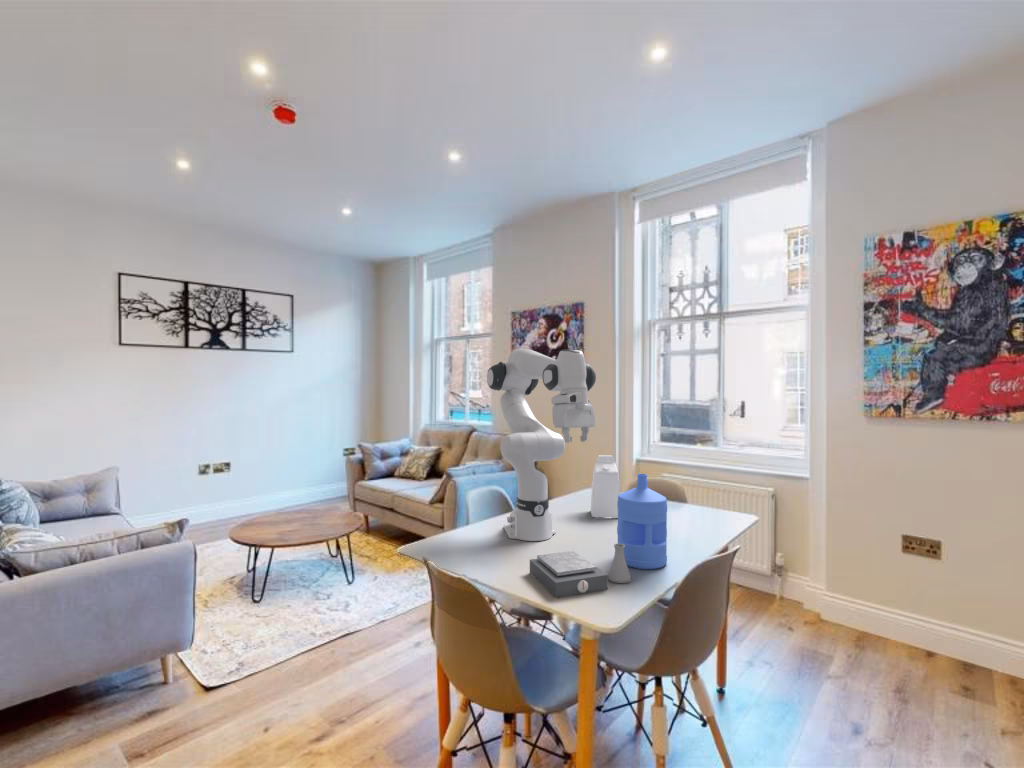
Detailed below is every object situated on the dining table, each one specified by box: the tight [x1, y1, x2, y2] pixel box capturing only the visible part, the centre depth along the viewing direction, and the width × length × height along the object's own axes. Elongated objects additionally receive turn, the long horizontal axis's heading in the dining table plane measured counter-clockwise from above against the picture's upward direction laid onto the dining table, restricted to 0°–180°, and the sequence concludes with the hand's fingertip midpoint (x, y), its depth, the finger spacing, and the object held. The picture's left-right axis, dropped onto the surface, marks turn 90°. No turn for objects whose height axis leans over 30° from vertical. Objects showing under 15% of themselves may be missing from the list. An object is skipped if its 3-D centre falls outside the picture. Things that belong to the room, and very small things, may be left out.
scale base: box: [529, 554, 609, 598], centre depth 140 cm, size 19×16×4 cm
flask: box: [607, 543, 632, 584], centre depth 142 cm, size 7×7×10 cm
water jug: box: [616, 473, 668, 570], centre depth 156 cm, size 16×16×28 cm
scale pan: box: [536, 550, 597, 576], centre depth 141 cm, size 14×12×1 cm
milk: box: [590, 455, 621, 518], centre depth 213 cm, size 12×12×26 cm
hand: (576, 442), depth 153 cm, fingers open, 8 cm apart
